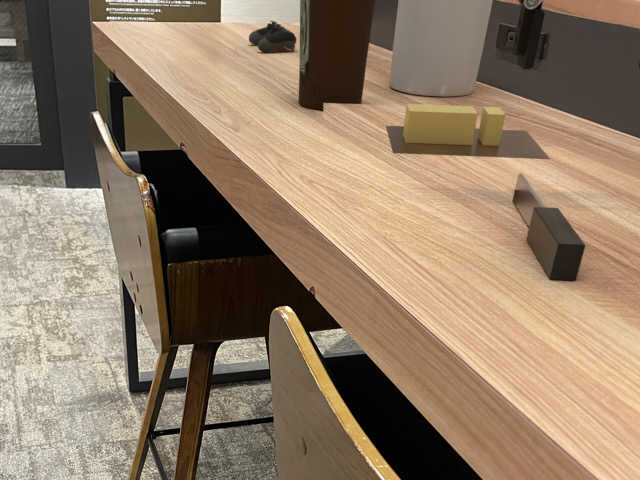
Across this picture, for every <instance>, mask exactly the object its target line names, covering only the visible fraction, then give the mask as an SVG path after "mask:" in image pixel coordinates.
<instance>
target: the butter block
mask: <svg viewBox="0 0 640 480" xmlns="http://www.w3.org/2000/svg"><path fill="white" fill-rule="evenodd" d="M478 114H479V112H478V111H477V110H476V109H475V107H474V106H473V105H451V104H450V105H447V104H445V105H444V104H420V103H417V104H416V103H406V107H405V114H404V122H403V126H404V129H403V137H404V140H405V143H423V144H450V145H472V144H473V138H474V133H475V129H476V127H477V121H478V116H479V115H478Z"/></svg>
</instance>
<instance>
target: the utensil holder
mask: <svg viewBox="0 0 640 480" xmlns="http://www.w3.org/2000/svg"><path fill="white" fill-rule="evenodd" d="M493 1H494V0H398V3H397V11H396V19H395V29H394V34H393V35H394V36H393V45H392V54H391V65H390V76H389V86H390V88H391V89H393V90H395V91H398V92H401V93H406V94H410V95H416V96H424V97H427V96H428V97H443V98H444V97H447V98H448V97H450V98H451V97H462V96H467V95H471V94H473V93H474V91H475V88H476V87H475V86H476V84H477V83H476V82H477V78H478V74H479V70H480V63H481V60H482V55H483V52H484V46H485V41H486V36H487V31H488V26H489V21H490V17H491V12H492V7H493Z"/></svg>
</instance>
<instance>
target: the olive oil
mask: <svg viewBox="0 0 640 480" xmlns="http://www.w3.org/2000/svg"><path fill="white" fill-rule="evenodd" d="M375 4H376V0H299V67H298V68H299V72H298V74H299V75H298V104H299V105H300V106H301V107H304V108H308V109H313V110H320V111H324V104H338V105H339V104H340V105H341V104H342V105H362V101H363V94H364V86H365V85H364V84H365V76H366V68H367V63H368V62H367V61H368V54H369V46H370V41H371V33H372V32H371V31H372V27H373V26H372V25H373V17H374V12H375Z"/></svg>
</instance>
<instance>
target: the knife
mask: <svg viewBox="0 0 640 480" xmlns="http://www.w3.org/2000/svg"><path fill="white" fill-rule="evenodd" d="M512 201H513V202H514V203H515V205H516V206H517V208H518V210H519V211H518V210H517V211H518V213H519V212H520V213H521V215H522V216H523V218H524V220H525V221H526V223H527V224H526V223H525V224H526V226H527V225H528V226H529V228H528V230H527V235H526V238H525V240H526V239H527V240H526V241H527V243H528V245H529V246H531V247H530V248H531V250H532V252H533V253H534V255H535V257H536V259H537V258H538V259H537V260H538V262H539V264H540V266H541V267H542V269H543V271H544V272H545V274H546V276H547V277H548V279H549V280H554V281H573V282H574V281H575V282H576V280H577V278H578V274H579V271H580V267H581V263H582V260H583V257H584V252H585V249H586V244H585V242H584V241H583V240H582V239H581V237H580V235H579V234H578V233H577V232H576V230H575V229H574V227H573V226H572V225H571V223H570V222H569V221H568V220H567V218H566V217H565V215H564V214H563V212H562V211H561V210H560V208H558V207H547V206H546V205H545V204H544V202H543V201H542V199H541V198H540V197H539V195H538V194H537V193H536V191H535V190H534V188H533V187H532V185H531V184H530V183H529V181H528V180H527V178H526V177H525V175H524V174H523V173H518V174H517V178H516V183H515V189H514V192H513V197H512ZM513 202H512V203H513ZM514 203H513V204H514ZM515 205H514V206H515ZM516 206H515V207H516ZM517 208H516V209H517ZM520 213H519V214H520ZM521 215H520V216H521ZM522 216H521V217H522ZM523 218H522V219H523ZM524 220H523V221H524ZM525 221H524V222H525ZM528 226H527V227H528Z"/></svg>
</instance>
